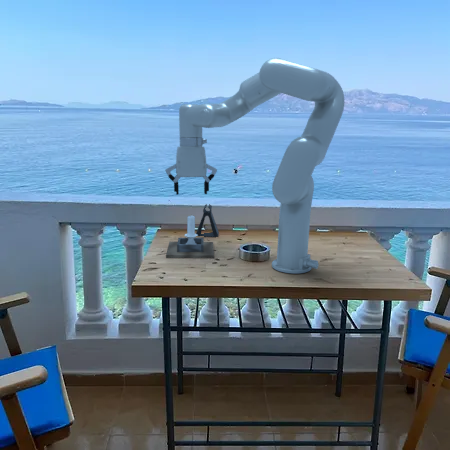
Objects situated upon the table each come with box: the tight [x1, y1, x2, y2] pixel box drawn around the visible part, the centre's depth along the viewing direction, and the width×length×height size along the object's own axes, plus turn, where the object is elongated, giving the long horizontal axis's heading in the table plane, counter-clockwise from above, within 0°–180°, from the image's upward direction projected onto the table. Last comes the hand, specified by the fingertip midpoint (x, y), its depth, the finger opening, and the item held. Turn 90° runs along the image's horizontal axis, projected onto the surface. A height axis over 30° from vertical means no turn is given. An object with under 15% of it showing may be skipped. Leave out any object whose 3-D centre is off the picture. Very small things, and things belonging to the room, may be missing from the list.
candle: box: [184, 214, 198, 244], centre depth 159 cm, size 5×5×12 cm
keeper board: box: [165, 237, 215, 259], centre depth 160 cm, size 16×16×4 cm
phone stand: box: [195, 203, 220, 238], centre depth 180 cm, size 9×6×12 cm, turn 88°
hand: (191, 193), depth 156 cm, fingers open, 9 cm apart
